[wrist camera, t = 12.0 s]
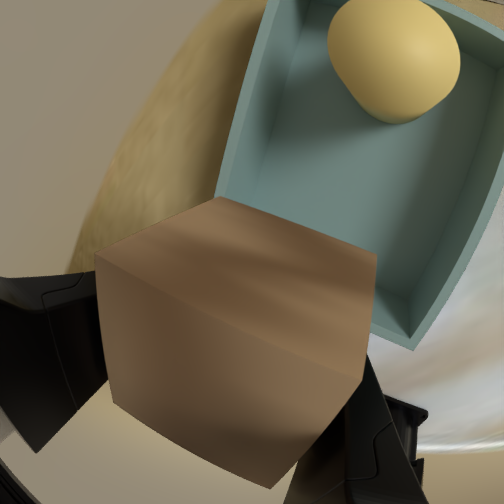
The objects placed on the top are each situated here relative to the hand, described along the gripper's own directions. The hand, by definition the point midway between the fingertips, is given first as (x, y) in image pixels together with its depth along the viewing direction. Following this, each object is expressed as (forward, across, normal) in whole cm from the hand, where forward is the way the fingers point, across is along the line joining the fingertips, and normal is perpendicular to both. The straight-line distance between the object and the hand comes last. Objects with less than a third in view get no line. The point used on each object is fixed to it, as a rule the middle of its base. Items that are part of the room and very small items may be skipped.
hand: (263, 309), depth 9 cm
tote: (+12, -1, -5) cm, 13 cm away
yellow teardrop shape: (+11, -1, -9) cm, 14 cm away
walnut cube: (+1, 0, 0) cm, 1 cm away
